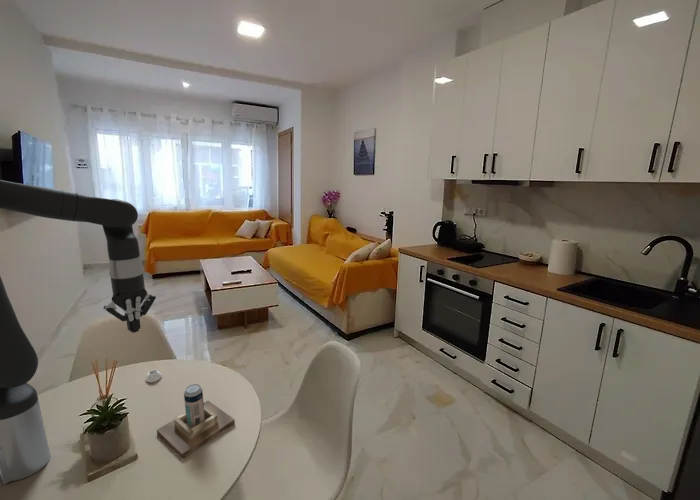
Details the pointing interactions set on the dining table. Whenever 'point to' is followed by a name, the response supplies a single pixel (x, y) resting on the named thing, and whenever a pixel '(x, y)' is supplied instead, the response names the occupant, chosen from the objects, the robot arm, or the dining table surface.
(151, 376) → the white rounded piece
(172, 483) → the dining table surface
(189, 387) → the beer can
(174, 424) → the board
